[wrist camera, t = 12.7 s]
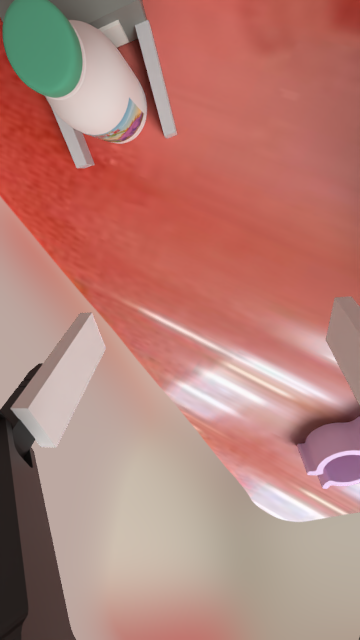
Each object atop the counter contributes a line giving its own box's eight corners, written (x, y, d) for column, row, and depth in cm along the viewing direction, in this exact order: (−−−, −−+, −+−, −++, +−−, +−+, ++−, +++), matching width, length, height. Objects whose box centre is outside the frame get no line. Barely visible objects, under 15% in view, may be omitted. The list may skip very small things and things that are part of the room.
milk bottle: (81, 69, 32) (-51, -45, 15) (144, 64, 32) (84, -59, 14) (94, 145, 36) (0, 125, 19) (150, 142, 36) (109, 118, 18)
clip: (375, 400, 56) (396, 428, 50) (399, 431, 60) (422, 460, 54) (290, 439, 63) (300, 468, 57) (317, 464, 68) (329, 493, 61)
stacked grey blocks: (113, -123, 25) (65, -299, 16) (177, 134, 35) (171, 121, 25) (-6, -56, 28) (-111, -173, 18) (84, 168, 37) (47, 168, 28)
